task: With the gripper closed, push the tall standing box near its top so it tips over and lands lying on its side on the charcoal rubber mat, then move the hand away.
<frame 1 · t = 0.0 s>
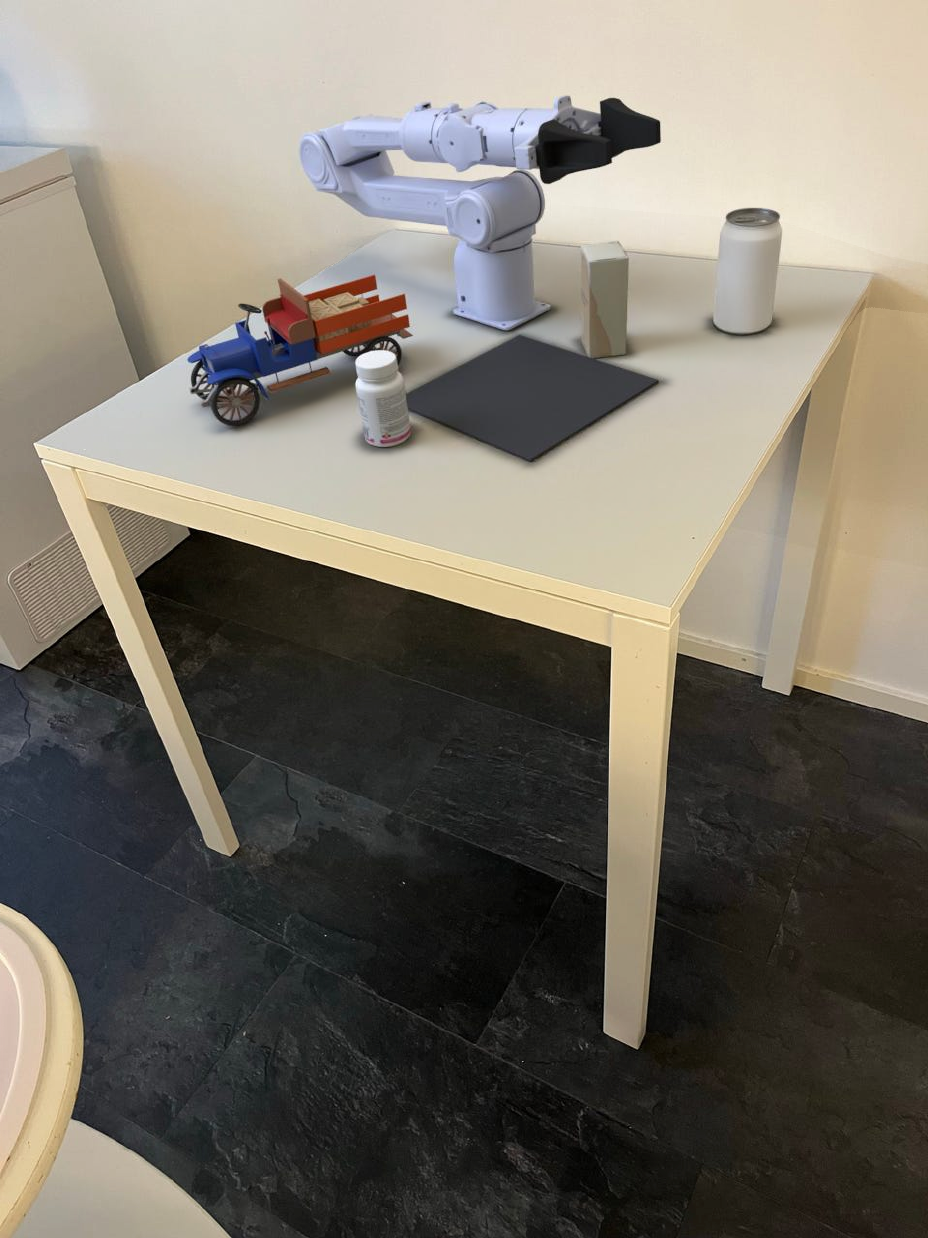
hand: (634, 142, 93), 22 cm above the table, tool horizontal, fingers open, 7 cm apart
box: (603, 349, 109), on the table
pill bottle: (388, 438, 98), on the table
toy truck: (309, 388, 108), on the table
can: (741, 325, 110), on the table
mat: (524, 392, 102), on the table
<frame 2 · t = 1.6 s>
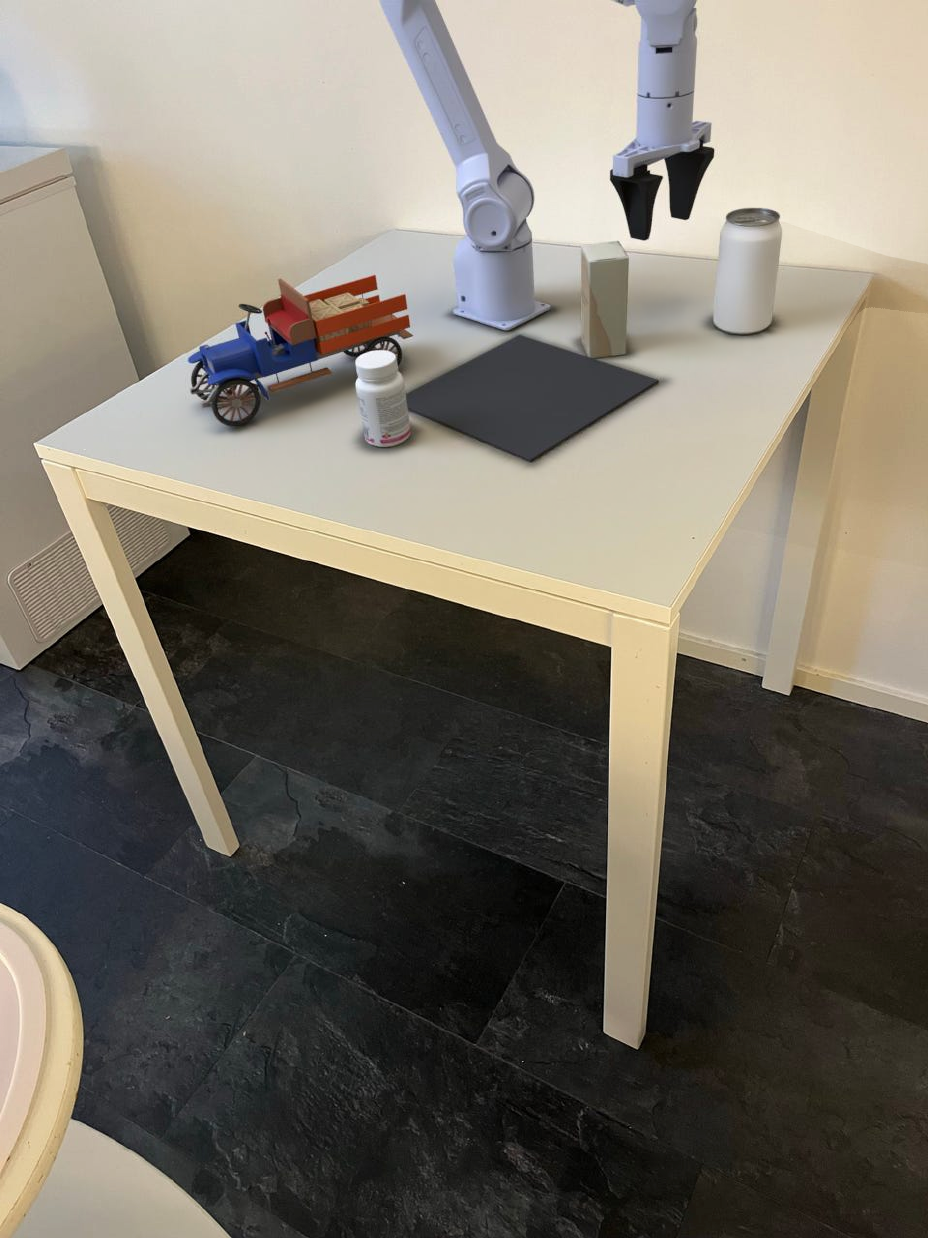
hand: (660, 227, 107), 10 cm above the table, tool pointing down, fingers open, 7 cm apart
nothing on the table moved.
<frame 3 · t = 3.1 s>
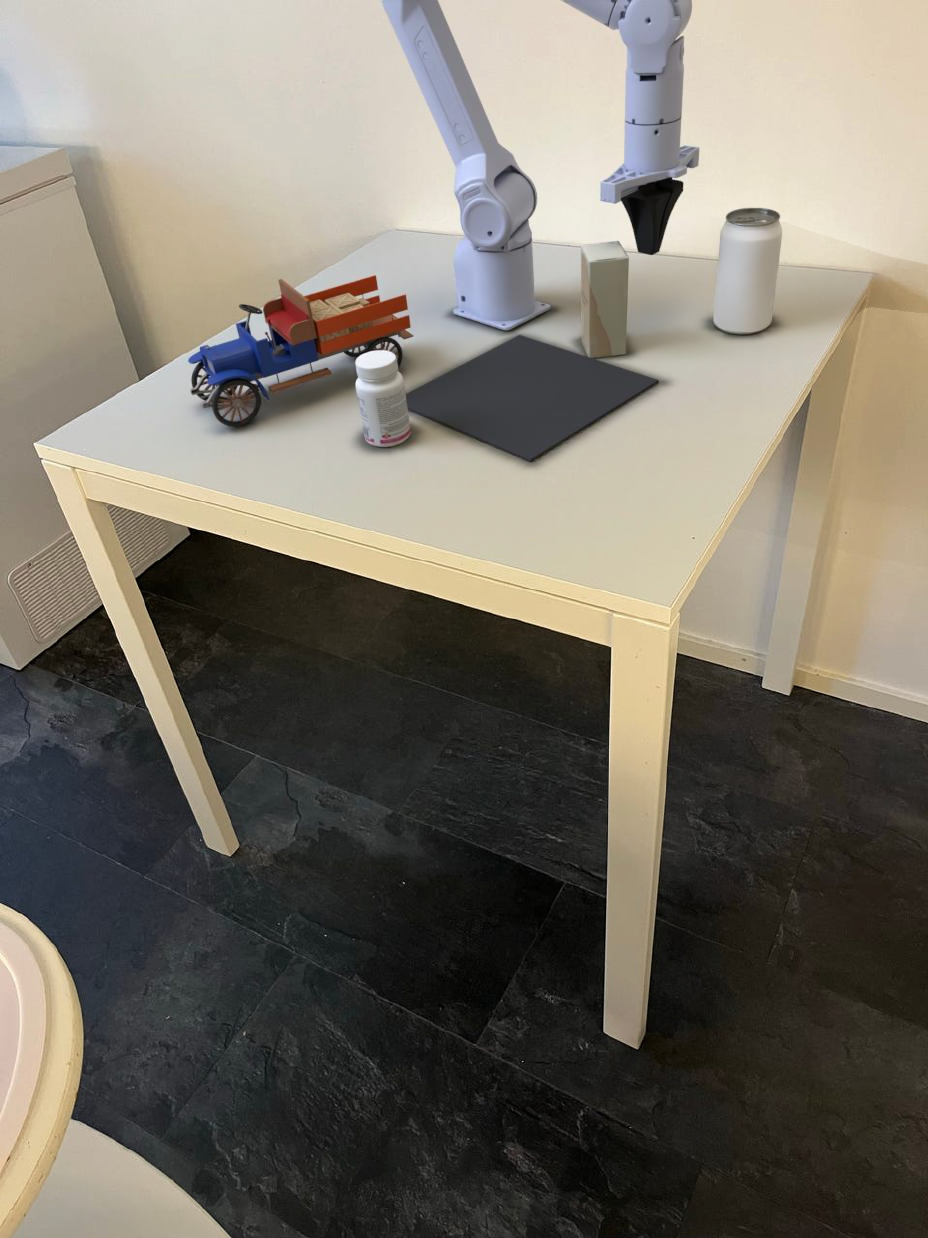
hand: (648, 251, 107), 8 cm above the table, tool pointing down, fingers closed
nothing on the table moved.
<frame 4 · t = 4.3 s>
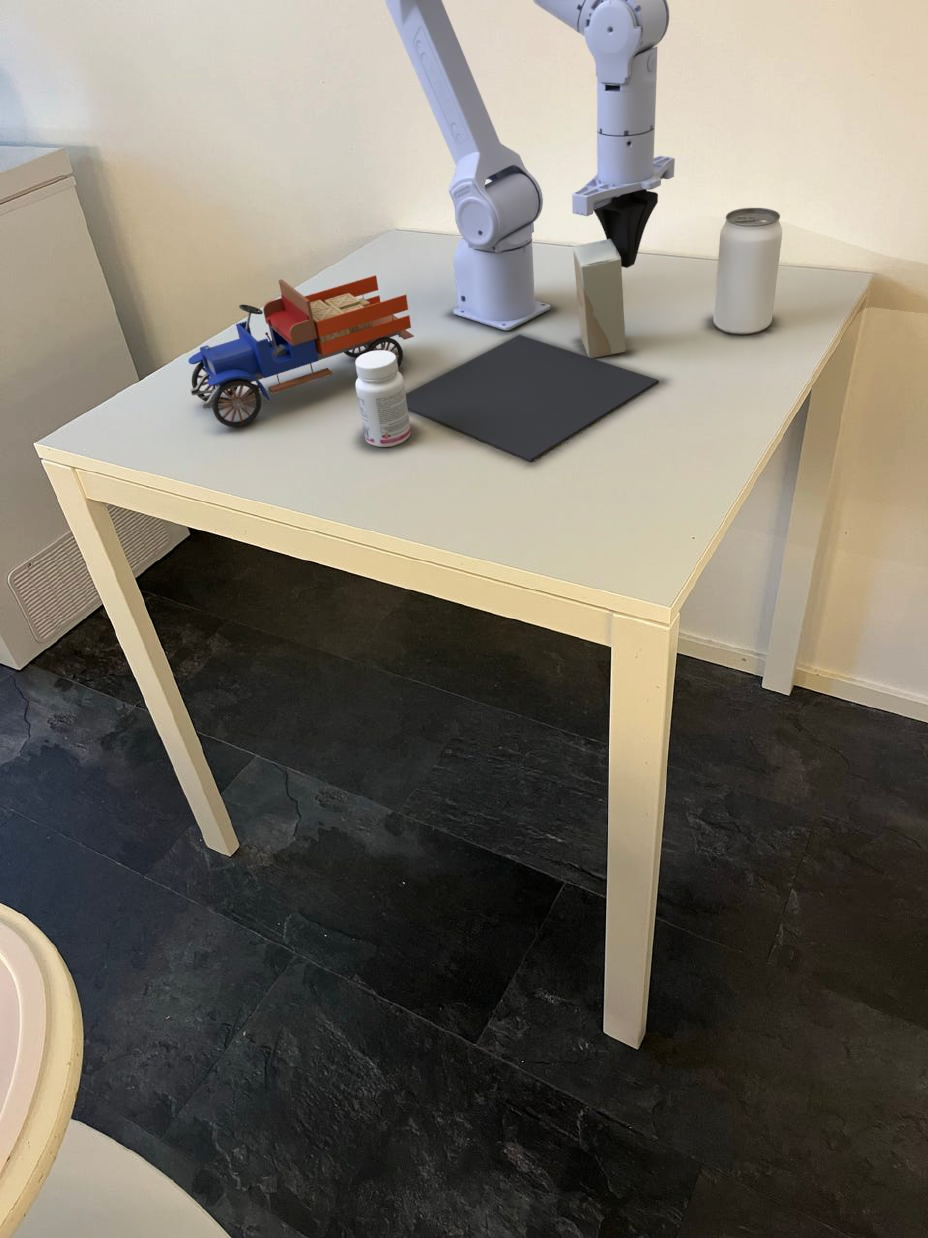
hand: (623, 264, 105), 8 cm above the table, tool pointing down, fingers closed
box: (603, 346, 108), on the table, touching gripper
everything else where it was.
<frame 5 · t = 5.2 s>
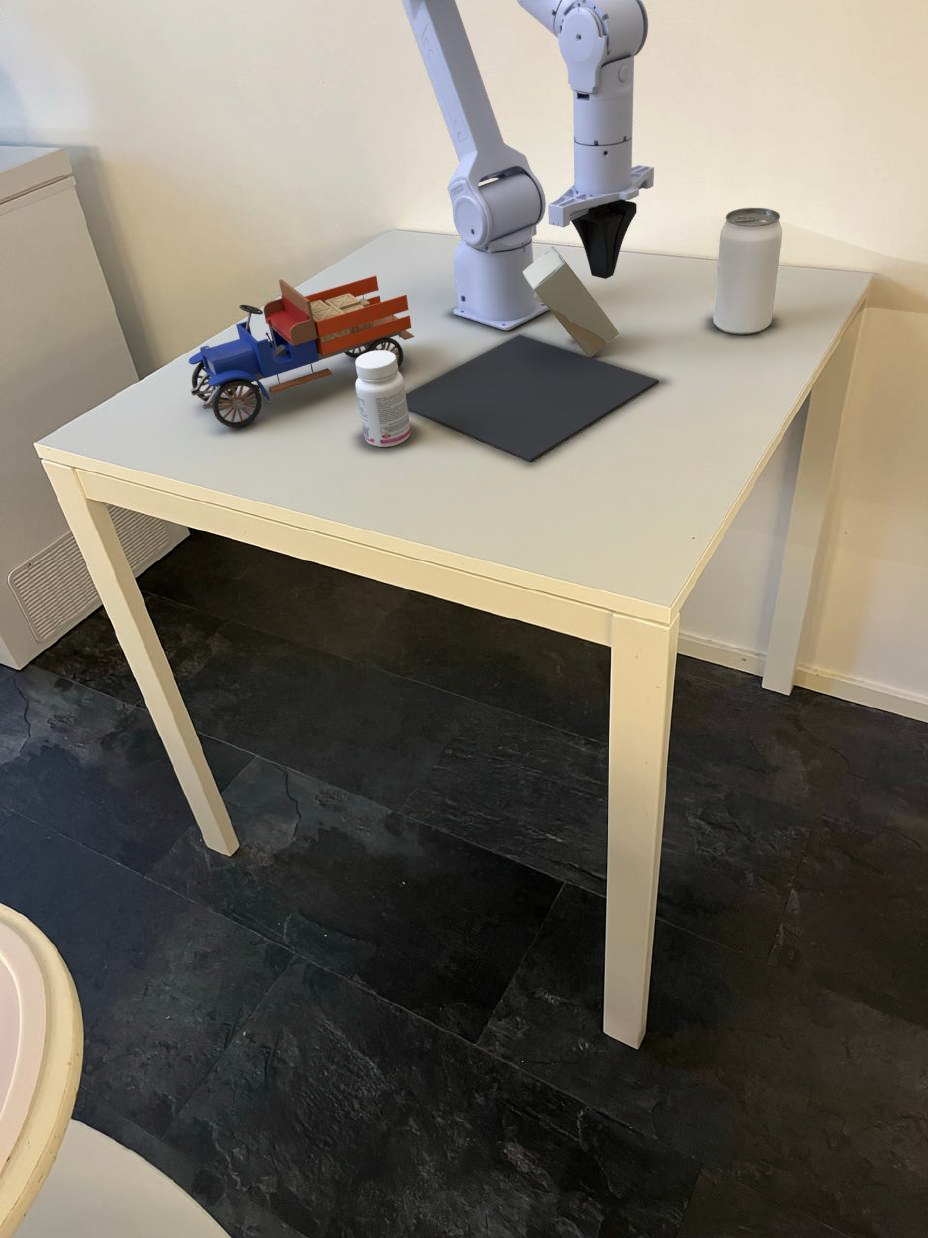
hand: (602, 275, 103), 8 cm above the table, tool pointing down, fingers closed
box: (599, 338, 108), point 1 cm above the table
everything else where it was.
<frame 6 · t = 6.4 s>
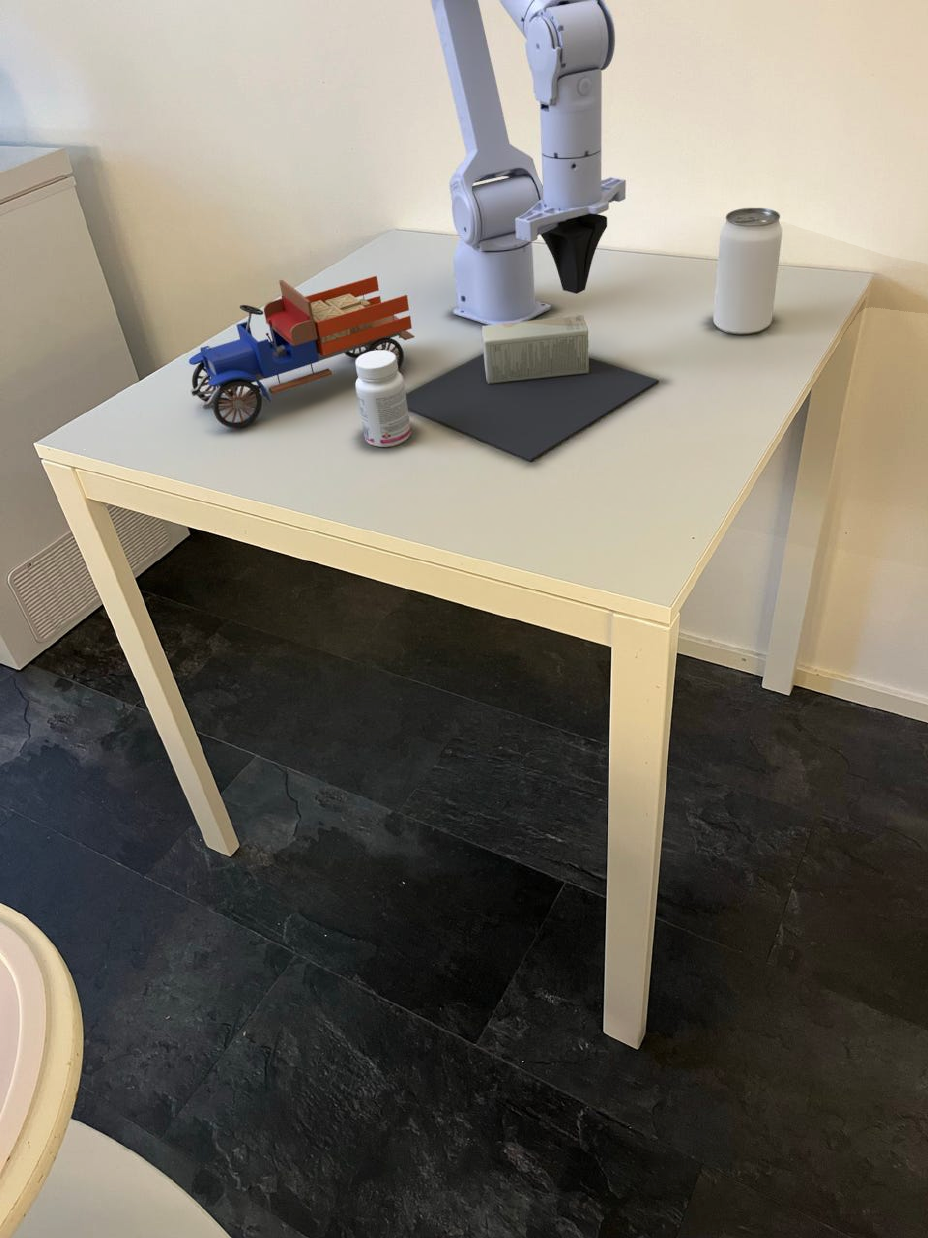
hand: (573, 289, 101), 8 cm above the table, tool pointing down, fingers closed
box: (588, 345, 103), point 3 cm above the table, touching mat
everything else where it was.
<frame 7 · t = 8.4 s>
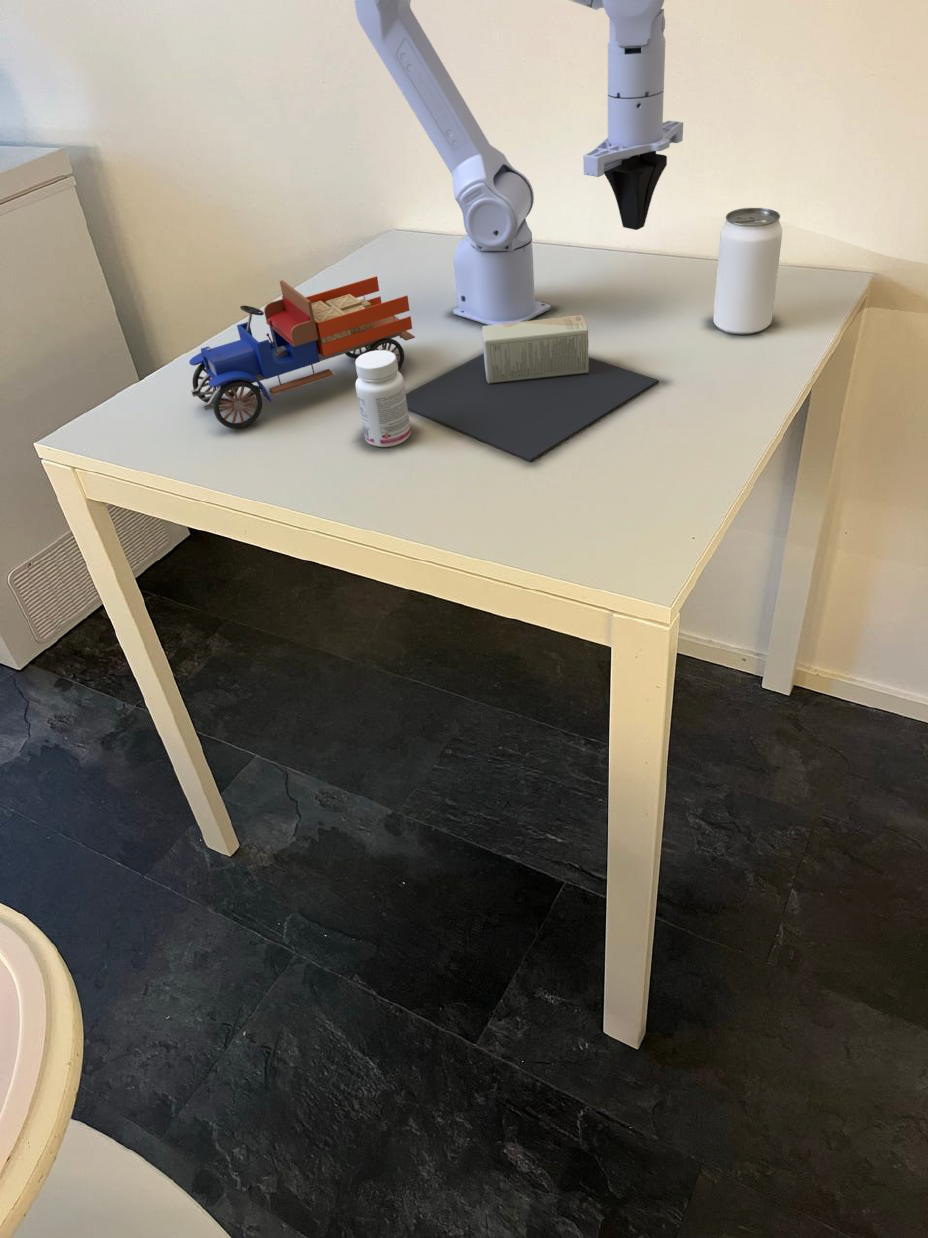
hand: (633, 226, 108), 10 cm above the table, tool pointing down, fingers closed
nothing on the table moved.
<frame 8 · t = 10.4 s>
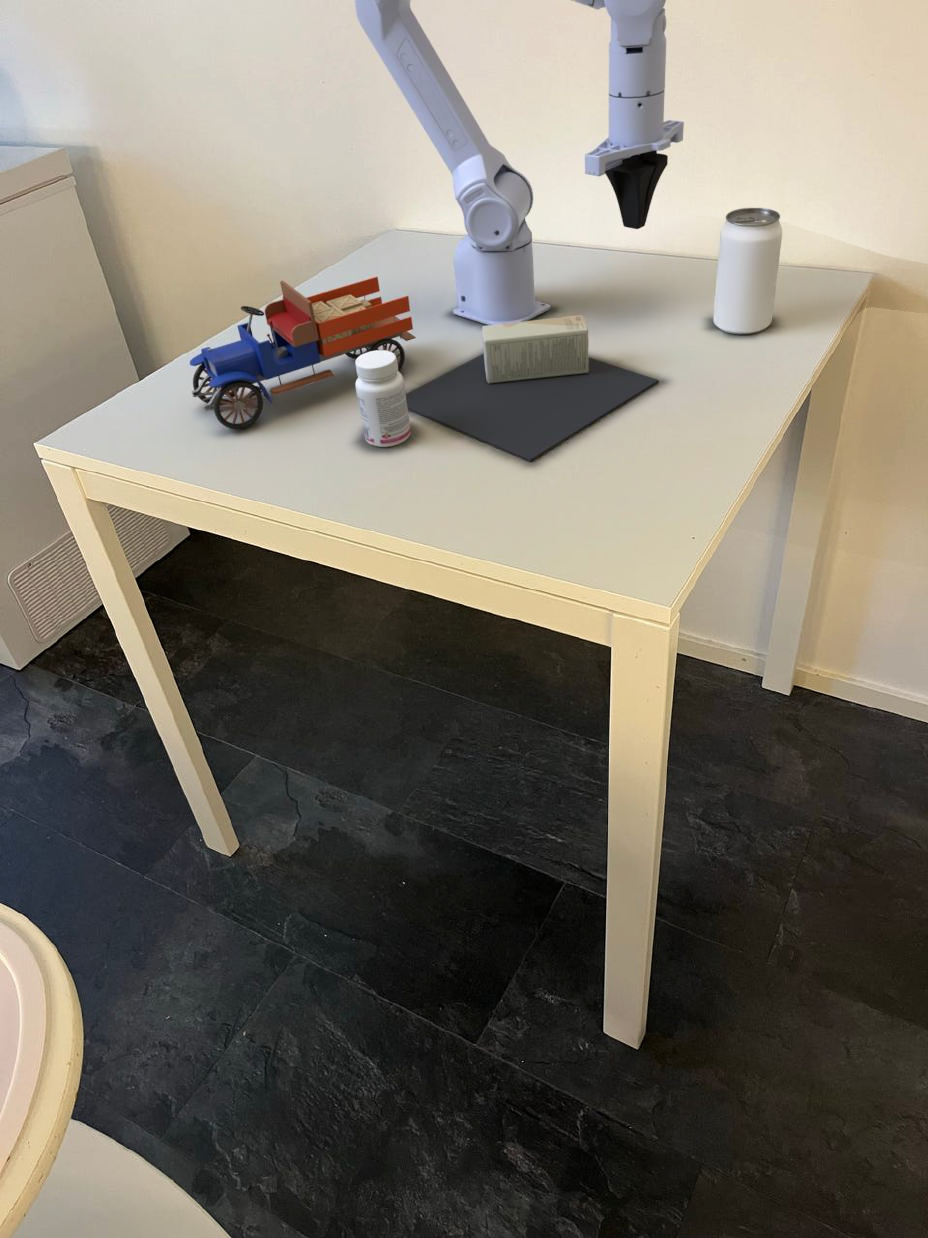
hand: (634, 225, 108), 10 cm above the table, tool pointing down, fingers closed
nothing on the table moved.
at the end: box tilted 89°; box touching mat; box inside the target area (2.4 cm from its centre), point 2.7 cm above the table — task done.
